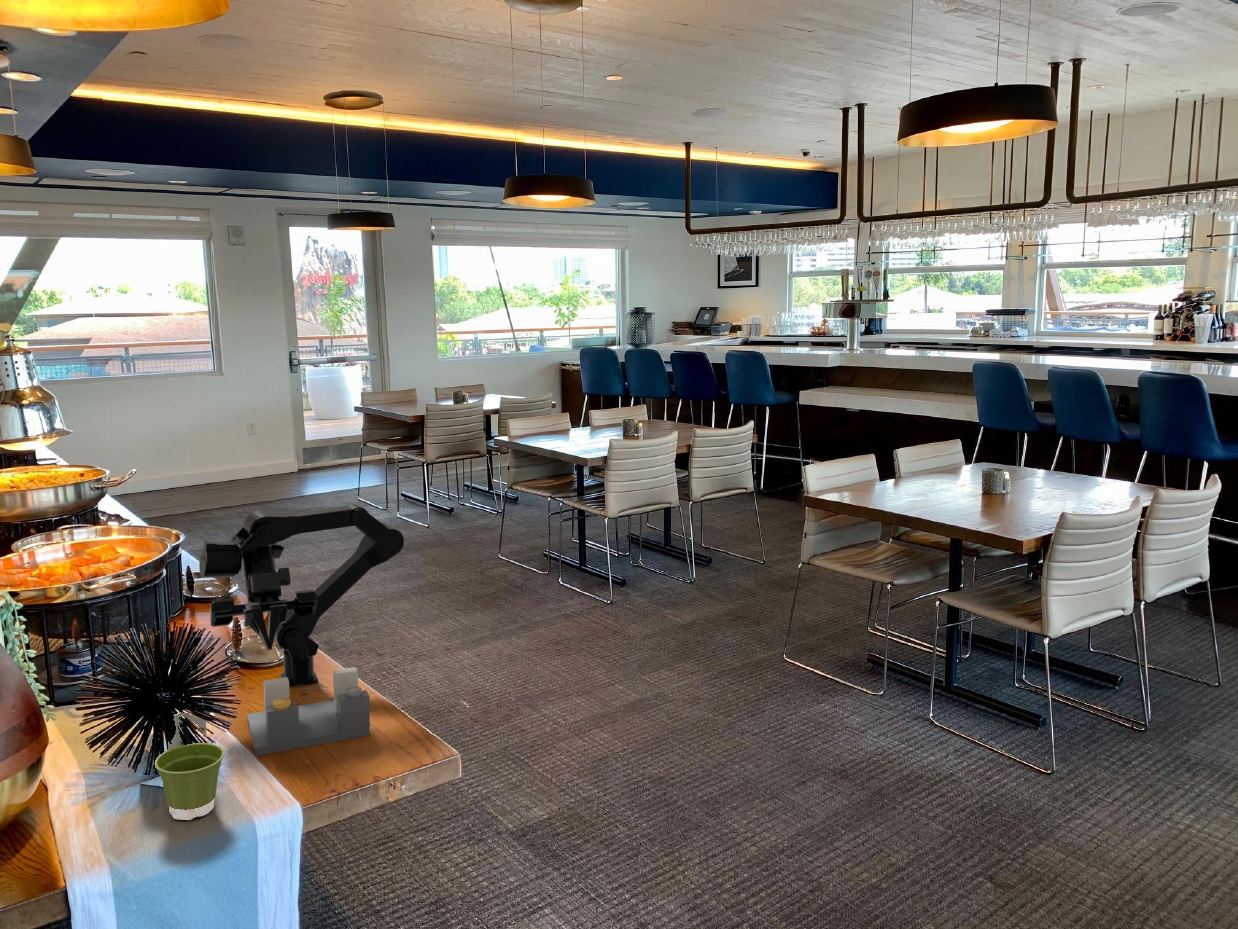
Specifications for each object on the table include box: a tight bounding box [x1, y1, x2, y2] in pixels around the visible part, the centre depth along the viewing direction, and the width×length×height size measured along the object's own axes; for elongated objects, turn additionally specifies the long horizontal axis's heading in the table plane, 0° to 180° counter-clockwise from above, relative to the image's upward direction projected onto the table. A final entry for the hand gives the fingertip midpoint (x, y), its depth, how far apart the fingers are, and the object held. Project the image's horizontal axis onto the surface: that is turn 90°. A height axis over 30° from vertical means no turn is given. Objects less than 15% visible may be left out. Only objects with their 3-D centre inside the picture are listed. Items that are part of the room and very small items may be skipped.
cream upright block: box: [332, 666, 359, 714], centre depth 168 cm, size 2×4×8 cm, turn 118°
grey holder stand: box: [246, 686, 371, 757], centre depth 164 cm, size 14×19×8 cm
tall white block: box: [263, 677, 290, 723], centre depth 162 cm, size 2×4×8 cm, turn 117°
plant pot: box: [154, 742, 225, 810], centre depth 137 cm, size 9×9×9 cm
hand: (269, 649), depth 168 cm, fingers closed
